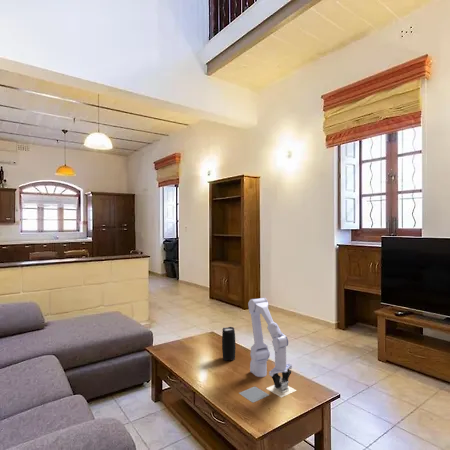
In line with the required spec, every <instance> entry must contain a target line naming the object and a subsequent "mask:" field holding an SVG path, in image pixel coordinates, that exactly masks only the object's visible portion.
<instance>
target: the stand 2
mask: <svg viewBox="0 0 450 450" xmlns="http://www.w3.org/2000/svg"><path fill="white" fill-rule="evenodd" d="M265 389H266V390H267V391H269V392H270V393H273V395H276V396H277V397H279V398H283V397H286V396H288V395H290V394H292V393H294V392H296V391H297V389H295V388H293V387H291V386H289V385H288V389H289V391H287V392H285V393H281V392H279V391H278V390H276V389H274V384H273V385H270V386H268V387H266V388H265Z"/></svg>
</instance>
